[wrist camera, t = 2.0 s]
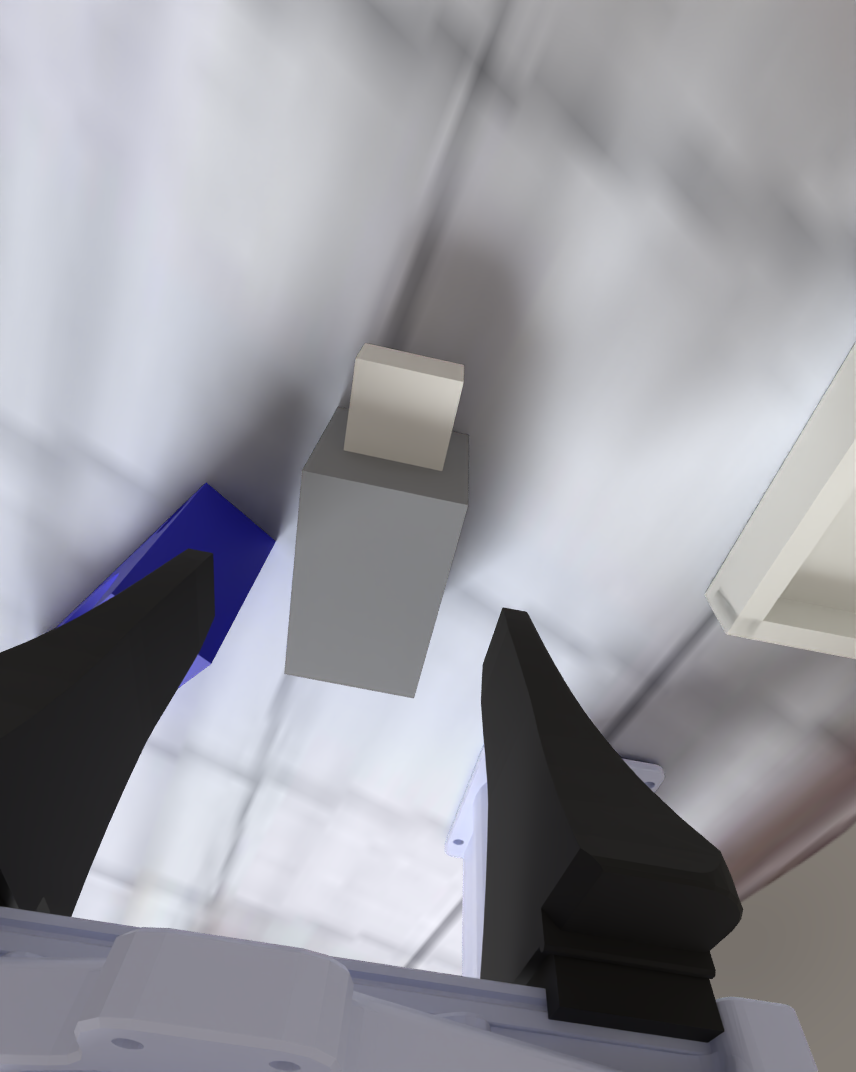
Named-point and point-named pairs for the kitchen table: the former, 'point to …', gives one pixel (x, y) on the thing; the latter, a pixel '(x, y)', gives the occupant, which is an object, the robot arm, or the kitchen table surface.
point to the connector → (379, 525)
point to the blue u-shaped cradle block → (205, 529)
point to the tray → (801, 540)
